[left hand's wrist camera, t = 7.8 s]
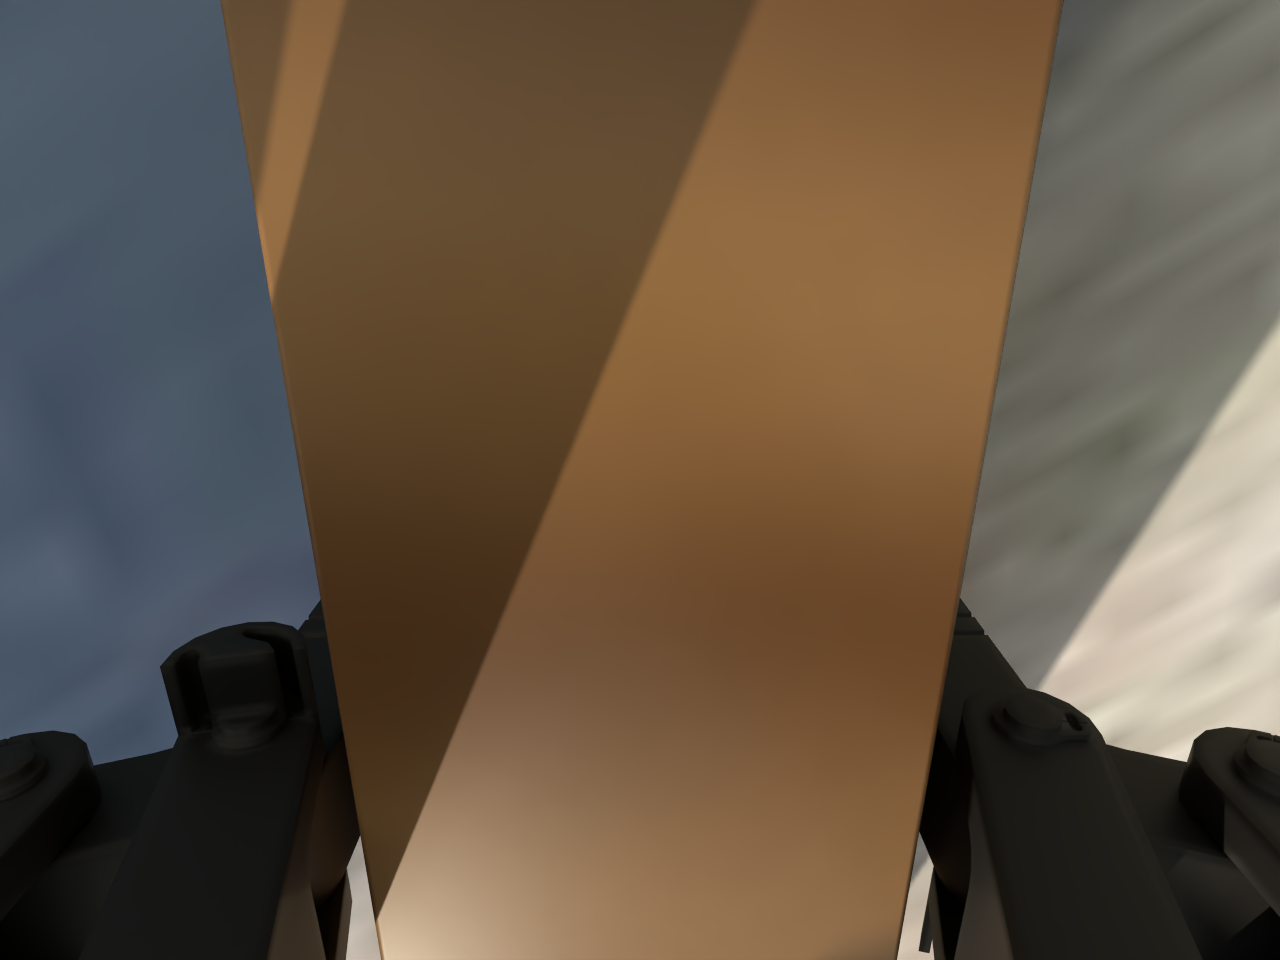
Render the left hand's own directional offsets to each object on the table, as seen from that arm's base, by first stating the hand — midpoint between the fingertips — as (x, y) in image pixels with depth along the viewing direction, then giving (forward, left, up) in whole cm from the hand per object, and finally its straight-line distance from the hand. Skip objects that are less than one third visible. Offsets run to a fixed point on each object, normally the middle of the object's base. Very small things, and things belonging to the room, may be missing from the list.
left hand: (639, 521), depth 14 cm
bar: (+13, +22, -1) cm, 26 cm away
